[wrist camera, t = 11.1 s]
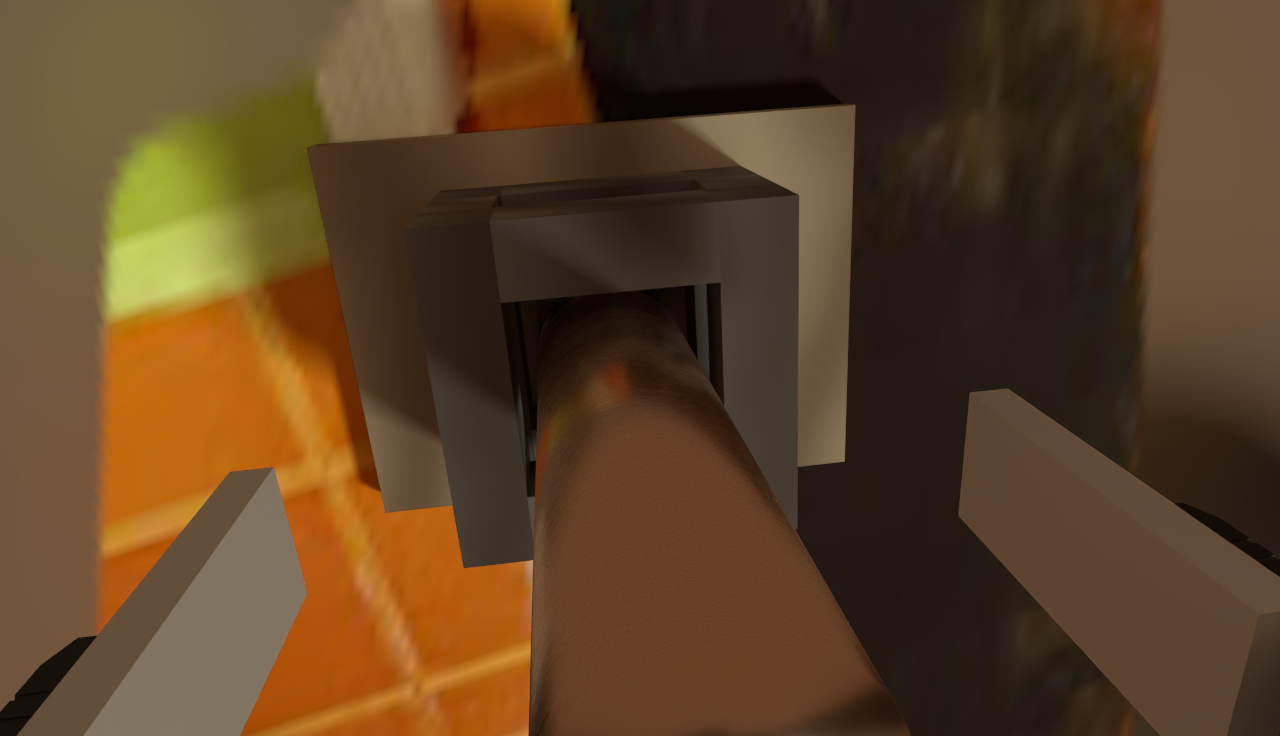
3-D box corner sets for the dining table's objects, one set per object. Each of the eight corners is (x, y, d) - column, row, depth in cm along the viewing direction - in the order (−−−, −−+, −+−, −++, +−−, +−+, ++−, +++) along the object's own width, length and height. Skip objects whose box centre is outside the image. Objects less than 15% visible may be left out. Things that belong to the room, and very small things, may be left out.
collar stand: (391, 497, 27) (340, 630, 21) (317, 144, 23) (223, 172, 17) (835, 448, 28) (918, 560, 22) (843, 103, 24) (950, 115, 18)
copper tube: (545, 388, 25) (545, 977, 8) (530, 265, 24) (495, 669, 7) (670, 375, 26) (911, 914, 9) (663, 252, 24) (931, 611, 7)
